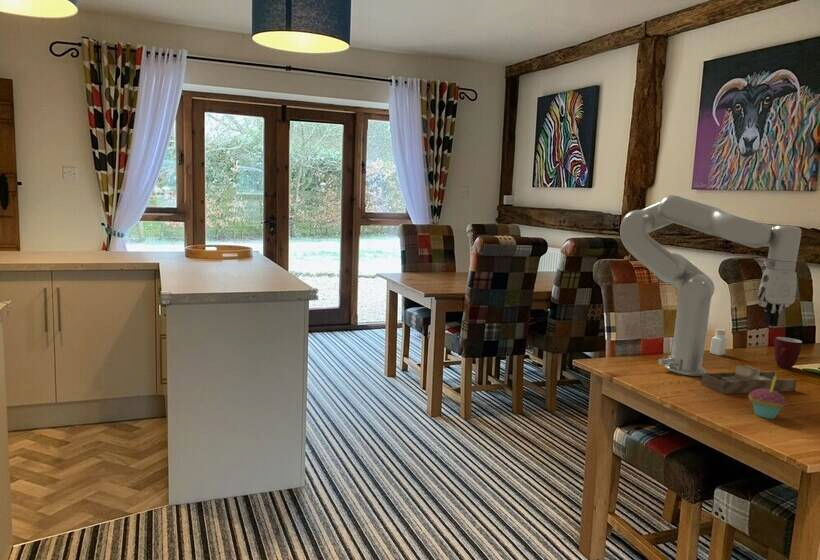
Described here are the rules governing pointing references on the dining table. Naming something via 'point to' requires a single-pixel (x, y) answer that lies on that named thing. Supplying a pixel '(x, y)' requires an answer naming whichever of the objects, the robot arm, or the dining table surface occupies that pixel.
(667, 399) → the dining table surface
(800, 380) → the dining table surface
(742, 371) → the birch block
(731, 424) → the dining table surface
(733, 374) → the tray
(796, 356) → the mug
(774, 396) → the cupcake
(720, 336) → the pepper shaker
